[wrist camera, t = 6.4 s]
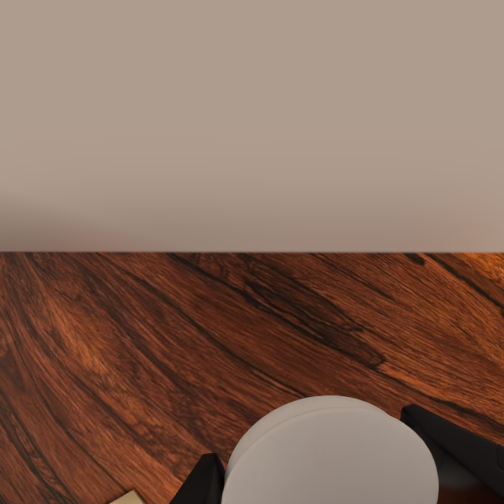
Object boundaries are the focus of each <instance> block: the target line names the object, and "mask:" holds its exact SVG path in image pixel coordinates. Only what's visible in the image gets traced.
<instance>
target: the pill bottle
mask: <svg viewBox="0 0 504 504" xmlns="http://www.w3.org/2000/svg"><path fill="white" fill-rule="evenodd" d="M438 491H439V480H438V474H437V469H436V465H435V462H434V460H433V457H432V455H431V453H430V451H429V449H428V447H427V446H426V444H425V443H424V441H423V440H422V439H421V438H420V437H419V436H418V435H417V434H416V432H414V431H413V430H412V429H411V428H409V427H408V426H407V425H405V424H404V423H403V422H401V421H399V420H397V419H396V418H394V417H391V416H389V415H388V414H387V413H385V412H384V411H382V410H381V409H379V408H378V407H376V406H374V405H372V404H369V403H367V402H364V401H361V400H358V399H354V398H350V397H344V396H315V397H309V398H304V399H300V400H296V401H293V402H290V403H288V404H285V405H283V406H281V407H279V408H277V409H275V410H274V411H272V412H270V413H269V414H267V415H266V416H264V417H263V418H262V419H260V420H259V421H258V422H257V423H255V424H254V425H253V426H252V427H251V428H250V429H249V430H248V431H247V432H246V433H245V434H244V436H243V437H242V438H241V439H240V441H239V442H238V444H237V446H236V447H235V449H234V451H233V452H232V455H231V457H230V459H229V462H228V465H227V468H226V473H225V479H224V491H223V494H222V501H221V504H437V500H438Z"/></svg>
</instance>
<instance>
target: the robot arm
mask: <svg viewBox="0 0 504 504" xmlns="http://www.w3.org/2000/svg"><path fill="white" fill-rule="evenodd" d="M400 421H401V422H403V423H404V424H405V425H407V426H408V427H409V428H411V429H412V430H413V431H414V432H416V434H417V435H418V436H419V437H420V438H421V439H422V440H423V441H424V443H425V444H426V446H427V447H428V449H429V451H430V453H431V455H432V457H433V460H434V462H435V465H436V469H437V474H438V480H439V491H438V500H437V504H504V446H501V445H499V444H496V443H495V442H492V441H490V440H488V439H486V438H484V437H482V436H479V435H477V434H475V433H473V432H471V431H469V430H467V429H465V428H463V427H460V426H458V425H456V424H454V423H452V422H450V421H448V420H446V419H444V418H442V417H440V416H438V415H436V414H434V413H432V412H430V411H428V410H426V409H424V408H422V407H420V406H418V405H416V404H410V405H408V406H405V407H403V408H402V410H401V418H400ZM224 479H225V470H224V467H223V465H222V463H221V461H220V459H219V457H218V455H217V454H216V453H208V454H203V455H202V456H201V458H200V459H199V461H198V462H197V464H196V465H195V467H194V468H193V470H192V471H191V473H190V474H189V476H188V477H187V479H186V480H185V482H184V483H183V485H182V486H181V488H180V489H179V490H178V492H177V493H176V495H175V496H174V498H173V499H172V500H171V502H170V503H169V504H221V501H222V494H223V491H224Z"/></svg>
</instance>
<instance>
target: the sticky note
mask: <svg viewBox="0 0 504 504" xmlns="http://www.w3.org/2000/svg"><path fill="white" fill-rule="evenodd" d="M109 504H145V502H144V501H143V500H142V499H141V497H140V496H139V495H138V493H137V492H136V491H135V490H132V491H130V492H129V493H127V494H125V495H123V496H122V497H120V498H118V499H116V500H115V501H113V502H111V503H109Z"/></svg>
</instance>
